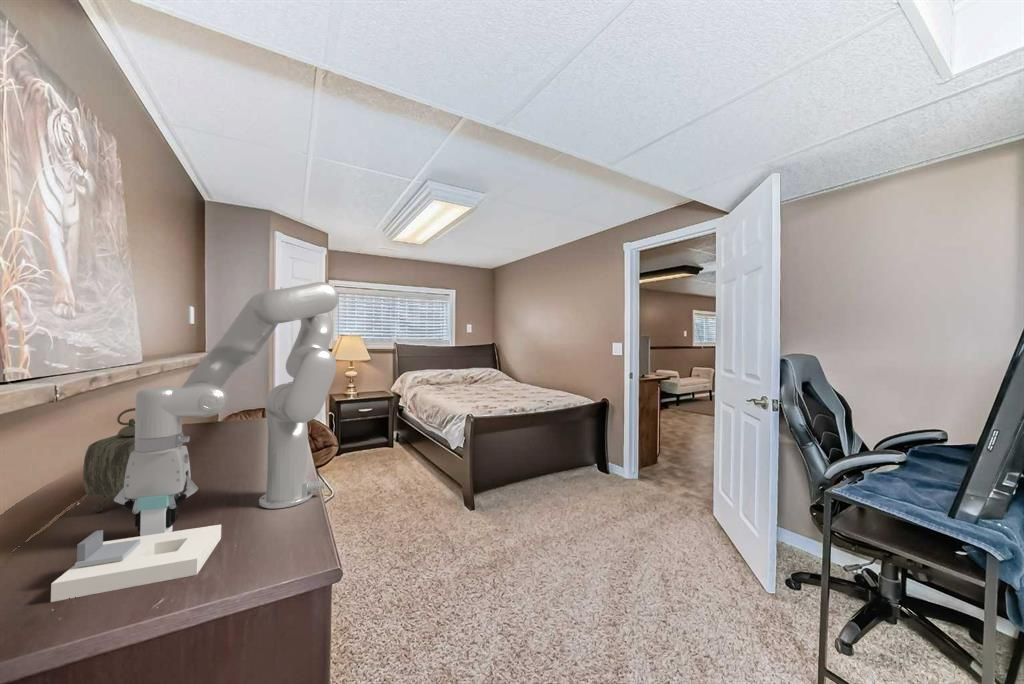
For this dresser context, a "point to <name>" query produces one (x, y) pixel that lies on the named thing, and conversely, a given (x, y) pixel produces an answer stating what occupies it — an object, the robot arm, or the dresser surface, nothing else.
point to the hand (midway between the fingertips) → (157, 526)
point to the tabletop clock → (109, 462)
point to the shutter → (102, 550)
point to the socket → (142, 563)
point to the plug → (153, 515)
